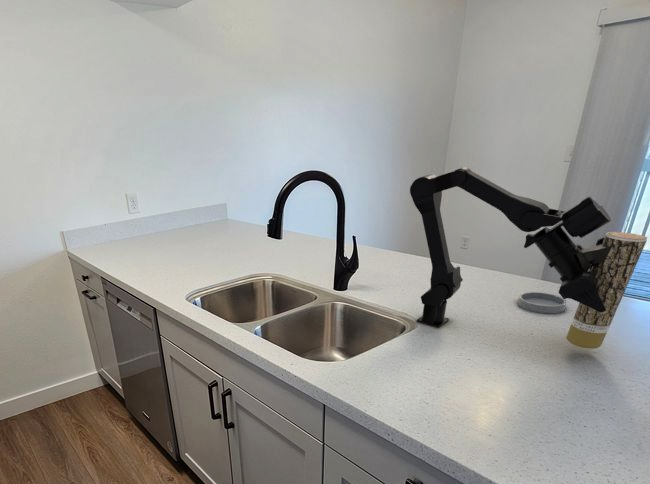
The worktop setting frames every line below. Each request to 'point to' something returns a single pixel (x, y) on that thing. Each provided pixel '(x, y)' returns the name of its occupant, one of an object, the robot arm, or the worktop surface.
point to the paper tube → (607, 289)
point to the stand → (541, 302)
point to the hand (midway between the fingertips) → (604, 306)
